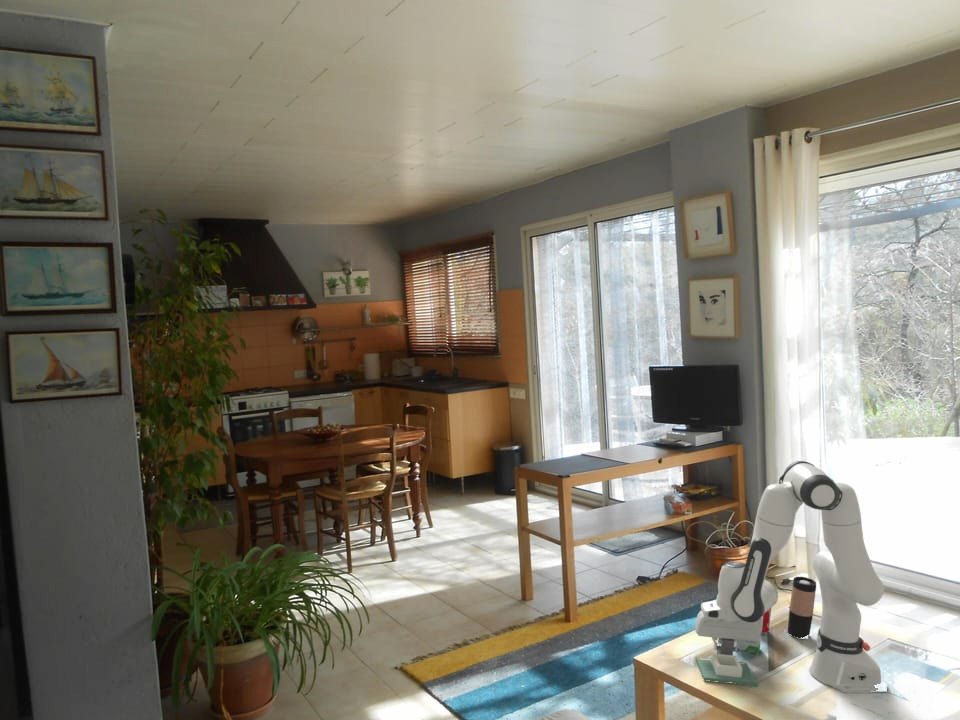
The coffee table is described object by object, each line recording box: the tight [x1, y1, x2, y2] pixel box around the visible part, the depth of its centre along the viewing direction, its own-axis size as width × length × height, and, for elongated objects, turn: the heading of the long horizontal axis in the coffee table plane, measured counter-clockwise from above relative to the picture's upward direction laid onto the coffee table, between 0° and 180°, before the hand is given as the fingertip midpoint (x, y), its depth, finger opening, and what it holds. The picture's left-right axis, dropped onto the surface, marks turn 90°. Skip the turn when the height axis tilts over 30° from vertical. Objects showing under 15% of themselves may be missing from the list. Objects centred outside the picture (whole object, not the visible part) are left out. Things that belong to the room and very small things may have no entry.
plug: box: [716, 638, 734, 656], centre depth 244 cm, size 4×4×8 cm
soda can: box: [761, 607, 772, 635], centre depth 264 cm, size 7×7×13 cm
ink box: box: [733, 616, 763, 655], centre depth 251 cm, size 9×5×12 cm, turn 60°
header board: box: [695, 653, 758, 687], centre depth 234 cm, size 16×12×4 cm
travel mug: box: [787, 576, 817, 638], centre depth 263 cm, size 8×8×20 cm
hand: (725, 650), depth 244 cm, fingers closed on plug, 4 cm apart
